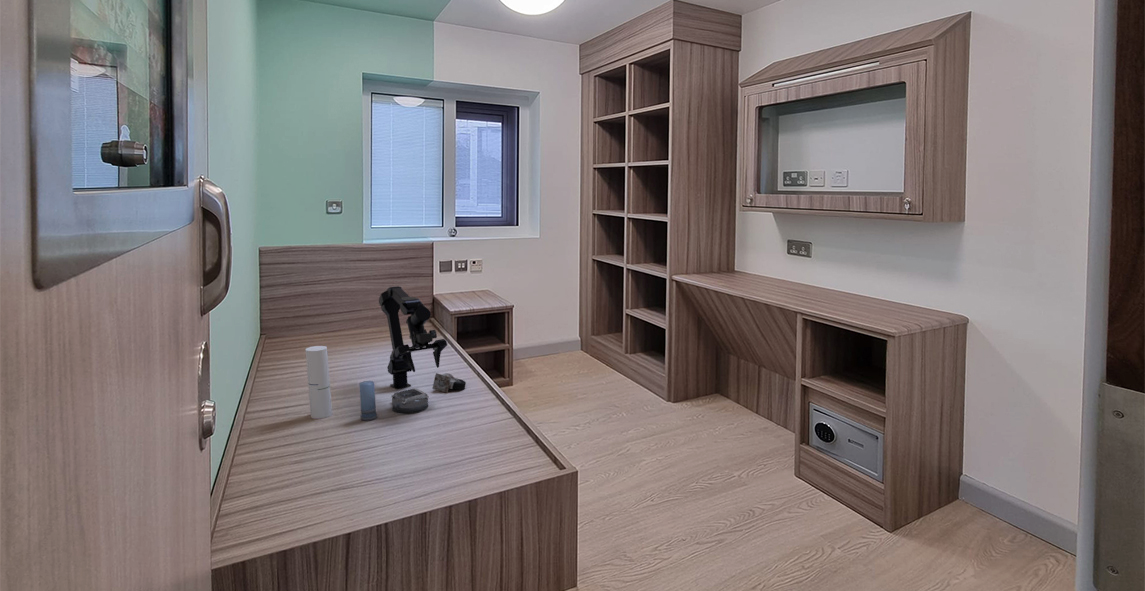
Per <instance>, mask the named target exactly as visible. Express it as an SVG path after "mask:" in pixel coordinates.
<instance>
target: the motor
mask: <svg viewBox="0 0 1145 591" xmlns="http://www.w3.org/2000/svg"><path fill="white" fill-rule="evenodd" d="M390 397H391V406H392V411H393V412H394V413H396V414H400V415H404V414H405V415H409V414H417V413H420V412H423V411H426V410H427V409H428V408H429V395H428V394H427V393H426V392H424V391H422V390H420V389H418V388H409V389H405V390H401V391H395V392H394V393H393V394H391V396H390Z"/></svg>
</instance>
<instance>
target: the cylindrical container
mask: <svg viewBox="0 0 1145 591" xmlns="http://www.w3.org/2000/svg"><path fill="white" fill-rule="evenodd" d="M305 360H306V362H305V363H306V374H307V384H308V385H307V386H308V398H309V410H310V411H309V412H310V418H312V419H315V420H318V419H319V420H320V419H325V418H329V417H331V416H332V415H333V408H332V407H333V406H332V398H331V383H330V382H331V381H330V368H329V355H328V346H325V345H314V346H309V347H306V348H305Z"/></svg>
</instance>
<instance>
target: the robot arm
mask: <svg viewBox="0 0 1145 591" xmlns="http://www.w3.org/2000/svg"><path fill="white" fill-rule="evenodd" d="M378 304H379V306H380V308H381V311H382V312H383V313H384V315H386V318H387V324H388V330H389V336H390V342H391V347H392V351H391V354H390V356H389V362H388V365H387V372H388V374H390V375H391V376H392V383H391V384H390V385H389V386H390V387H392V388H394V389H395V390H399V389H404V388H408V387H412V384H409V383H408V373H409V372H413V373H415V372H416V368H415V365H414V361H413V357H412V352H419V351H425V350H433V351H432V355H433V358H434V362H435V366H436V368H438V369H439V367H440V361H441V360H440V359H441V354H442V351H443V350H444V349H445V348H446V347H447V346H448V343H447V340H446V339H444V338H440V339H437V337H438V335H437V331H436V329H430V330H429V332H428V330H427V329H425V326H424V325H425V324H426V323H427V322H428V321H429V319H430V318H431V316H432V313H431V310H429V308H427V307H426V306H425V305H424V303H423V302H422V301H421V300H420V299H419V298H418V297H413V296H410V295H409V294H407V292H405V291H404V290H403V287H402V286H399V285H397V286H389V287H387V289H386V290H384V291H383V292H381V293H380V295H379V298H378ZM399 312H401V313H402V314H403V315H404V316H408V315H410V316H408V317H407V318H406V320H405V321H406V322H405V323H406V325H407V328H408V331H409V332H408V333H409V339H410V340H411V345H412V346H410V345H409V344H404V339H403V338H404V337H403V333H402V326H401V322H400V316H399V315H400V314H399ZM433 339H436V340H435V341H434V340H433Z"/></svg>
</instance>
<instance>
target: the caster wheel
mask: <svg viewBox="0 0 1145 591" xmlns="http://www.w3.org/2000/svg"><path fill="white" fill-rule="evenodd" d="M466 385H467V382H466V381H465V380H464V379H461V378H456V377H454V375H452V374H451V373H447V372H446V373H438V372H436V373H435V376H434V380H433V384H432V390H434V391H438V392H442V393H444V394H448V393H449V390H450V389H451V390H459V391H460V390H465V388H466Z"/></svg>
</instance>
